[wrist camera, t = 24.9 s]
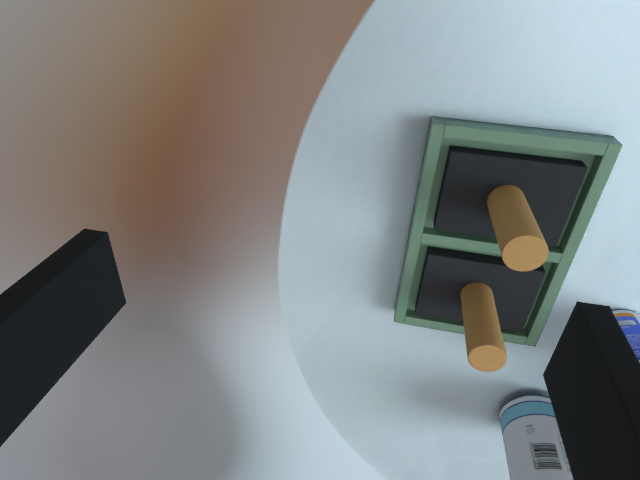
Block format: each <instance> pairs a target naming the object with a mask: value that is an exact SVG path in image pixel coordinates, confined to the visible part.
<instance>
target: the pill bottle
mask: <svg viewBox="0 0 640 480" xmlns="http://www.w3.org/2000/svg"><path fill="white" fill-rule="evenodd" d="M612 312H613V314H614V316H615V318H616V319H617V321H618V323H619V325H620V327H621V329H622V331H623V332H624V334H625V336H626V338H627V340H628V342H629V344H630V345H631V347H632V349H633V351H634V353H635V355H636V357H637V358H638V360H639V362H640V314H639V313H636V312H633V311H629V310H616V311H612Z"/></svg>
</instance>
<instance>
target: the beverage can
mask: <svg viewBox="0 0 640 480" xmlns="http://www.w3.org/2000/svg"><path fill="white" fill-rule="evenodd" d="M500 423H501V429H502V435H503V440H504V446H505V452H506V458H507V463H508V469H509V475H510V480H573V476H572V473H571V469H570V466H569V463H568V459H567V456H566V452H565V449H564V445H563V442H562V438H561V435H560V431H559V428H558V424H557V421H556V417H555V414H554V411H553V407H552V404H551V400H550V398H546V397H541V396H537V395H526V396H521V397H518V398H516V399H514V400H512V401H510V402H508V403H507V404H506V405H505V406H504V407H503V408H502V410H501V412H500Z"/></svg>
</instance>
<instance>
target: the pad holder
mask: <svg viewBox="0 0 640 480" xmlns="http://www.w3.org/2000/svg"><path fill="white" fill-rule="evenodd" d="M451 145H452V146H460V147H469V148H477V149H486V150H494V151H503V152H511V153H520V154H529V155H537V156H546V157H554V158H563V159H571V160H580V161H583V163H584V164H585V165H586V166H587V167H588V169H587V171H586V174H585V176H584V179H583V181H582V184H581V186H580V189H579V191H578V194H577V196H576V199H575V201H574V204H573V206H572V209H571V211H570V214H569V216H568V219H567V221H566V224H565V226H564V229H563V231H562V234H561V236H560V239H559V241H558V243H557V246H549V245H547V246H548V249H549V253H548V257H547V259H546V261H545V262H544V263H543V267H544V269H545V272H546V273H545V276H544V278H543V281H542V283H541V286H540V288H539V291H538V293H537V296H536V298H535V301H534V303H533V306H532V308H531V311H530V313H529V316H528V318H527V321H526V323H525V326H524V328H523V330H522V332H518V331H512V330H506V329H501V333H502V338H503V341H505V342H511V343H517V344H522V345H529V346H536V344H537V341H538V339H539V337H540V335H541V332H542V330H543V328H544V325H545V323H546V321H547V318H548V316H549V314H550V311H551V309H552V307H553V305H554V302H555V300H556V298H557V295H558V293H559V291H560V288H561V286H562V284H563V282H564V279H565V277H566V275H567V272H568V270H569V268H570V265H571V263H572V261H573V258H574V256H575V254H576V252H577V249H578V247H579V245H580V242H581V240H582V238H583V235H584V233H585V231H586V228H587V226H588V224H589V222H590V219H591V217H592V215H593V212H594V210H595V208H596V205H597V203H598V201H599V199H600V196H601V194H602V192H603V189H604V187H605V185H606V182H607V180H608V178H609V175H610V173H611V171H612V169H613V166H614V164H615V162H616V159H617V157H618V155H619V152H620V150H621V148H622V144H621V143H620V142H619V141H618V140H617V139H616V138H614V137H613V136H606V135H597V134H588V133H578V132H569V131H560V130H551V129H542V128H532V127H523V126H514V125H505V124H496V123H486V122H477V121H468V120H459V119H450V118H440V117H431V121H430V126H429V132H428V137H427V142H426V148H425V153H424V158H423V163H422V169H421V174H420V179H419V185H418V190H417V195H416V200H415V206H414V211H413V216H412V222H411V227H410V232H409V237H408V243H407V248H406V253H405V259H404V264H403V269H402V274H401V280H400V285H399V290H398V296H397V301H396V306H395V314H394V322H398V323H404V324H408V325H414V326H420V327H425V328H431V329H437V330H442V331H448V332H454V333H460V334H465V330H464V322H459V321H453V320H448V319H442V318H436V317H430V316H424V315H418V314H415V303H416V298H417V294H418V289H419V285H420V280H421V276H422V271H423V266H424V262H425V257H426V253H427V248H428V246H431V247H437V248H444V249H451V250H458V251H464V252H471V253H478V254H484V255H491V256H498V257H502V256H501V252H500V249H499V245H498V242H497V238H494V237H487V236H480V235H473V234H466V233H459V232H452V231H445V230H438V229H434V216H435V211H436V207H437V202H438V198H439V193H440V189H441V184H442V180H443V175H444V170H445V166H446V161H447V157H448V152H449V148H450V146H451Z"/></svg>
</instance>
